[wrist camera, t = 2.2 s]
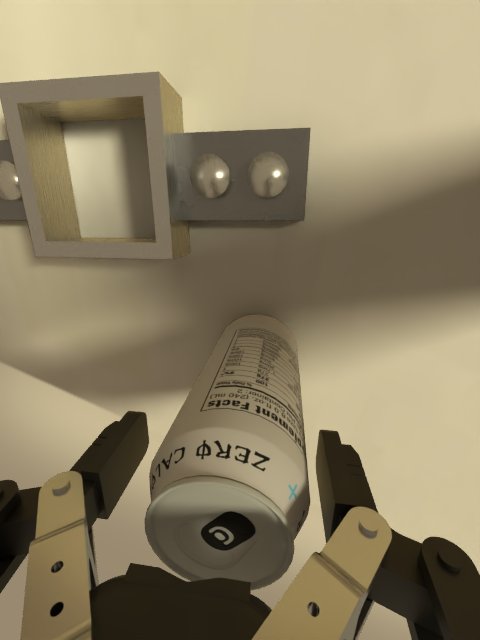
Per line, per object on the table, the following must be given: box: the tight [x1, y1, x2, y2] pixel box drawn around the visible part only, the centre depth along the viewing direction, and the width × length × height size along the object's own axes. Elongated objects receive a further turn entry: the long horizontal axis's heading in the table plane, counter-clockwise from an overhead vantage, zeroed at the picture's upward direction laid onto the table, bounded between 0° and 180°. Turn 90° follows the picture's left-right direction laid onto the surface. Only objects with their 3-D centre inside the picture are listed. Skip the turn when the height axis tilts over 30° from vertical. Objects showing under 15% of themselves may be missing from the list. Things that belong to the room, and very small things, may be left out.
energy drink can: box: [145, 314, 310, 590], centre depth 16 cm, size 6×6×15 cm
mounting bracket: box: [0, 72, 310, 259], centre depth 19 cm, size 26×10×4 cm, turn 90°
